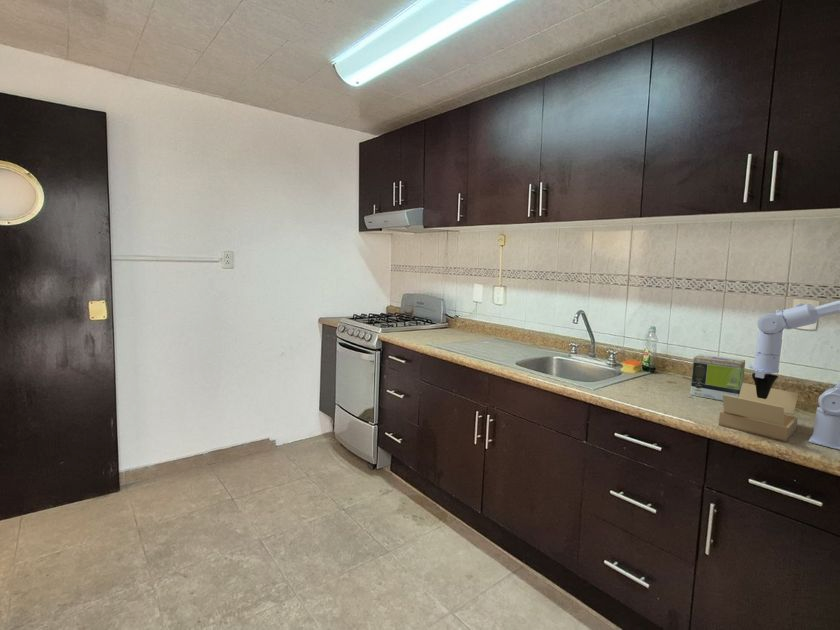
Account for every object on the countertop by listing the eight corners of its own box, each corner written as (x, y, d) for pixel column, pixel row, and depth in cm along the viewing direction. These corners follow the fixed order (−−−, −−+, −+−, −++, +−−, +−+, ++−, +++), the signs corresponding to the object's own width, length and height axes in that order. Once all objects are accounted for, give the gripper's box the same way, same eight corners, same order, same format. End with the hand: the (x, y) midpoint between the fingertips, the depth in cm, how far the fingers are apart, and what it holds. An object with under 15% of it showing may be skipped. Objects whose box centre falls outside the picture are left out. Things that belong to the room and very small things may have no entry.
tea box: (741, 398, 163) (746, 359, 161) (738, 404, 155) (743, 363, 153) (694, 390, 172) (698, 353, 171) (689, 395, 165) (693, 356, 163)
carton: (795, 430, 131) (797, 417, 131) (786, 442, 121) (787, 428, 121) (732, 415, 143) (733, 403, 143) (718, 425, 133) (720, 412, 133)
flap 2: (793, 414, 131) (793, 414, 131) (798, 393, 133) (798, 393, 133) (737, 402, 142) (737, 402, 142) (742, 382, 143) (742, 383, 144)
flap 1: (784, 406, 119) (783, 407, 118) (784, 424, 122) (783, 425, 122) (723, 394, 129) (722, 395, 129) (724, 410, 132) (724, 411, 132)
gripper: (757, 348, 138) (751, 390, 140) (745, 353, 129) (739, 398, 130) (785, 352, 133) (779, 396, 135) (775, 358, 124) (769, 405, 125)
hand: (761, 398), depth 132 cm, fingers closed
